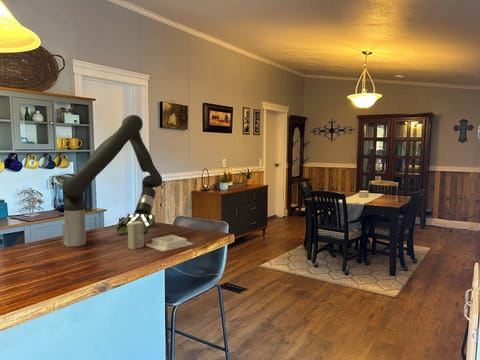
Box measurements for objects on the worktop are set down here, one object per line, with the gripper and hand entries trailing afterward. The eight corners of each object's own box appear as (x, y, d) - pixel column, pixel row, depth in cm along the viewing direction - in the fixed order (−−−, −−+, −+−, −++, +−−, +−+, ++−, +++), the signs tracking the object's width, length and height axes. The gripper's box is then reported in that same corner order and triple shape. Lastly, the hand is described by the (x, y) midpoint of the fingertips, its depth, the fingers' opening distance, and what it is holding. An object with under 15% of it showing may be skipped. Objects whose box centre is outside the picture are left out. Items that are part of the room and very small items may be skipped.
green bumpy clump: (121, 242, 209) (126, 222, 215) (138, 240, 205) (142, 220, 211) (109, 234, 200) (114, 214, 206) (125, 232, 196) (130, 211, 202)
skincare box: (138, 245, 181) (138, 220, 180) (144, 246, 179) (143, 222, 178) (127, 247, 177) (127, 222, 176) (132, 249, 174) (132, 224, 173)
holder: (163, 251, 171) (162, 244, 171) (145, 245, 181) (145, 239, 180) (192, 244, 184) (193, 238, 184) (175, 239, 194) (175, 233, 194)
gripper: (129, 201, 186) (119, 228, 175) (156, 202, 184) (148, 229, 174) (133, 209, 192) (124, 236, 181) (160, 210, 190) (152, 238, 180)
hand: (136, 233), depth 178 cm, fingers open, 8 cm apart
